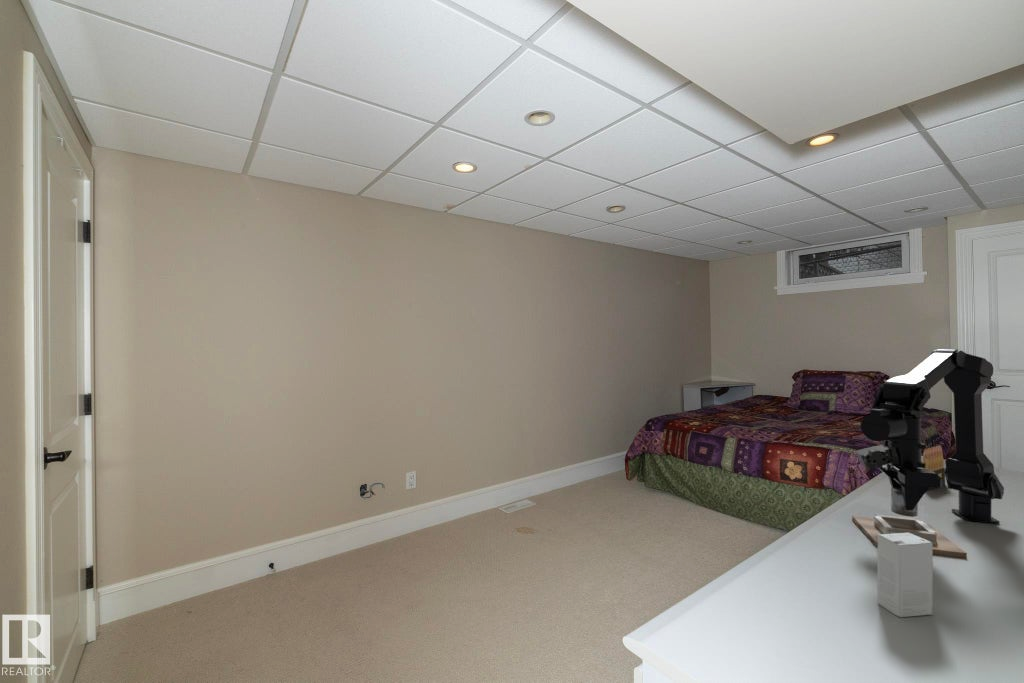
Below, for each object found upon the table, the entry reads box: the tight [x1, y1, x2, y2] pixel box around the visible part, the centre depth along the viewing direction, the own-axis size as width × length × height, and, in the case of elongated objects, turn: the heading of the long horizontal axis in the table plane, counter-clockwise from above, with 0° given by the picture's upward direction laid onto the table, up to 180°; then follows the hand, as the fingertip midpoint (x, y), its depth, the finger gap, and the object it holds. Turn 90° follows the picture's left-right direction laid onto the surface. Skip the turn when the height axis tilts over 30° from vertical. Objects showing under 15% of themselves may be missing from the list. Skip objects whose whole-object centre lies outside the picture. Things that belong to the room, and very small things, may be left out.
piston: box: [890, 487, 919, 518], centre depth 101 cm, size 4×4×5 cm
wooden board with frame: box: [851, 513, 968, 559], centre depth 101 cm, size 15×15×3 cm
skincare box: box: [876, 533, 934, 618], centre depth 75 cm, size 6×4×12 cm
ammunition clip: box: [921, 444, 946, 491], centre depth 134 cm, size 11×2×12 cm, turn 117°
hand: (904, 506), depth 101 cm, fingers closed on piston, 4 cm apart
